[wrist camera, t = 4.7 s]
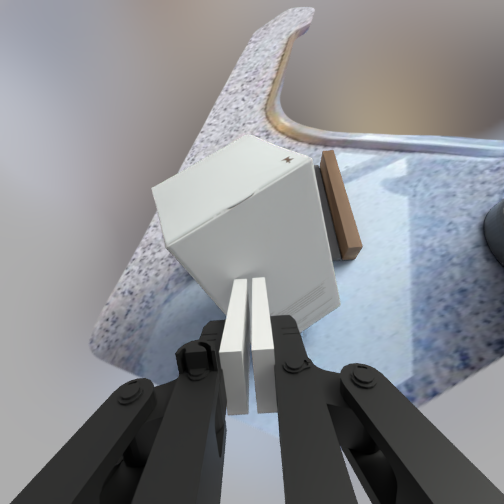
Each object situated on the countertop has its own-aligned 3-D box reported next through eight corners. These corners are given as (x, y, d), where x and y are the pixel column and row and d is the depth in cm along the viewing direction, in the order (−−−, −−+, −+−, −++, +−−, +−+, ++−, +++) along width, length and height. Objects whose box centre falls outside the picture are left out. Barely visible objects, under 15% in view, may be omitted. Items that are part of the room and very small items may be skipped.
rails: (329, 167, 36) (333, 150, 33) (354, 259, 28) (362, 246, 25) (211, 178, 37) (206, 162, 35) (203, 269, 29) (196, 258, 27)
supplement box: (292, 254, 28) (249, 129, 19) (343, 306, 22) (319, 153, 12) (228, 294, 28) (147, 185, 18) (260, 361, 21) (160, 246, 11)
